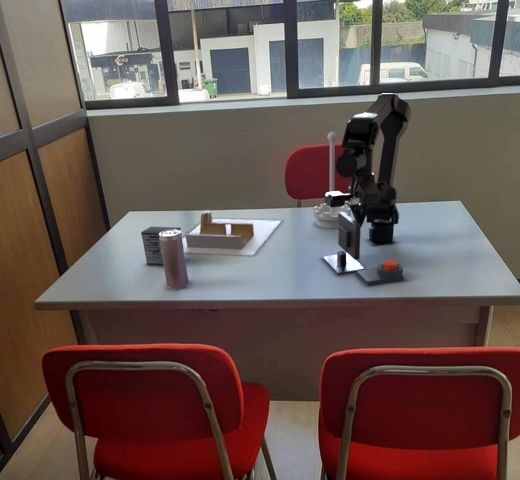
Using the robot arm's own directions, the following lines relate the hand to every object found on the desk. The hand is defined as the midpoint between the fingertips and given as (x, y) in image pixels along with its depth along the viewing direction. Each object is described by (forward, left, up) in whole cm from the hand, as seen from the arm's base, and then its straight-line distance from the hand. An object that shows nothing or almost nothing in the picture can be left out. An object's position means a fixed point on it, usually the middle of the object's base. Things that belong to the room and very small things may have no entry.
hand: (359, 227), depth 145 cm
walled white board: (+32, -40, -11) cm, 52 cm away
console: (-1, +12, -10) cm, 16 cm away
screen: (+4, 0, -7) cm, 8 cm away
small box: (+54, -22, -11) cm, 59 cm away
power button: (-4, +13, -8) cm, 16 cm away
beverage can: (+52, -3, -11) cm, 53 cm away
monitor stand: (+4, 0, -10) cm, 11 cm away
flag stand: (-5, -38, -11) cm, 40 cm away
